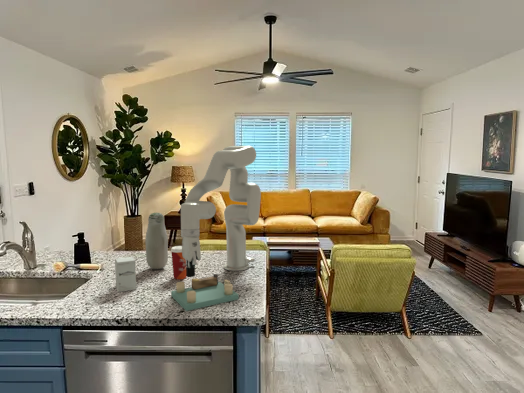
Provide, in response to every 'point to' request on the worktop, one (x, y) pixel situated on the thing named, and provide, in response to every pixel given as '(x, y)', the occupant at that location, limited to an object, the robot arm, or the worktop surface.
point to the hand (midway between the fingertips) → (190, 276)
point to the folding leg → (205, 282)
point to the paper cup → (178, 263)
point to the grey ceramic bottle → (156, 242)
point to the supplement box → (125, 274)
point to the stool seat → (203, 295)
